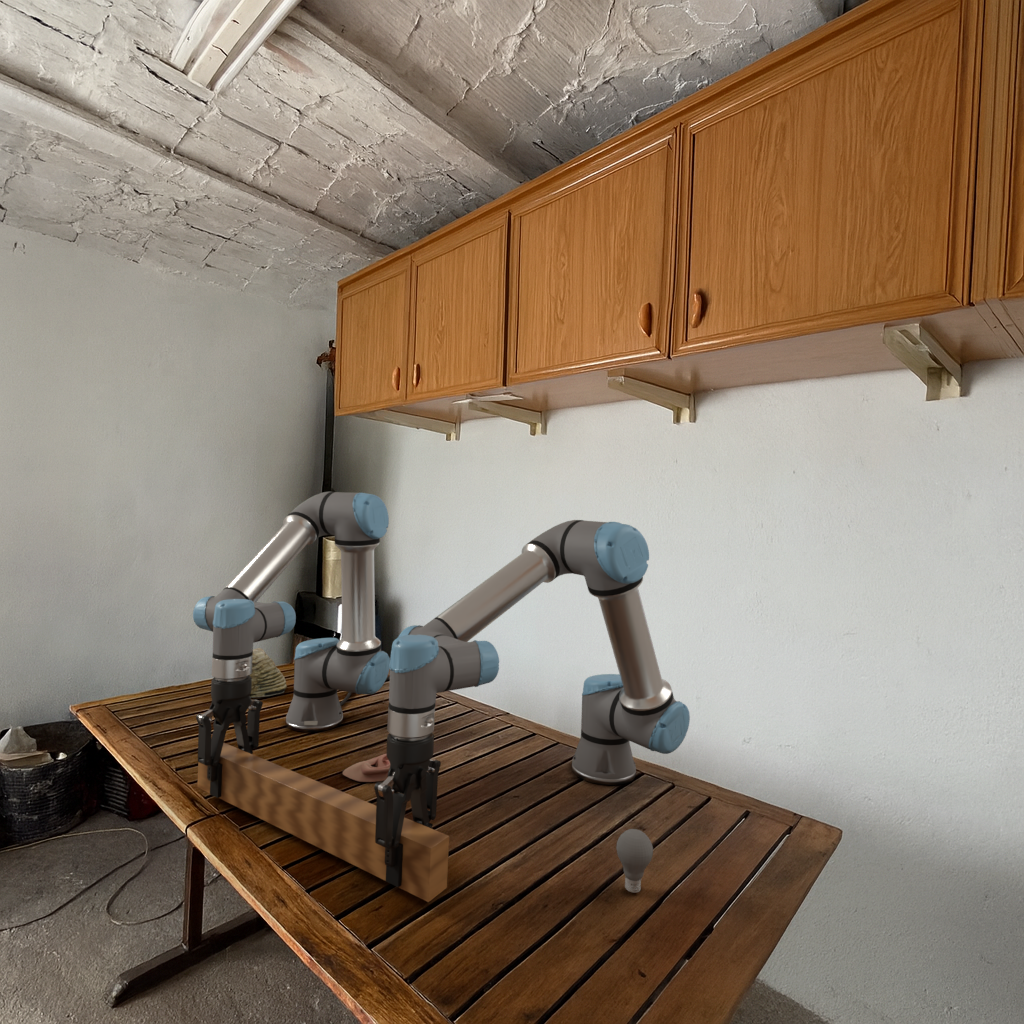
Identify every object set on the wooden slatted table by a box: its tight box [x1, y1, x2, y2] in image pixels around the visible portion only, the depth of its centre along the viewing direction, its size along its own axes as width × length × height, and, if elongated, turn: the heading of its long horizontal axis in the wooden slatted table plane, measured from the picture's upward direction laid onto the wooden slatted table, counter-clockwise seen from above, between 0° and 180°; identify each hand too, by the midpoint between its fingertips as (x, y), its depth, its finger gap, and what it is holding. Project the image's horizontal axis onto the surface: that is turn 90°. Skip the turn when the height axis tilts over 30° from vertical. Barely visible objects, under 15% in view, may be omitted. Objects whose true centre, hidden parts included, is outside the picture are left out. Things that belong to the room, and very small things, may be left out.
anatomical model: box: [342, 753, 390, 783], centre depth 146 cm, size 13×4×12 cm
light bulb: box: [615, 828, 654, 894], centre depth 106 cm, size 6×6×10 cm
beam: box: [196, 742, 450, 903], centre depth 116 cm, size 62×5×8 cm, turn 57°
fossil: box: [250, 647, 288, 699], centre depth 198 cm, size 9×18×15 cm, turn 132°
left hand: (227, 790), depth 129 cm, fingers closed on beam, 5 cm apart
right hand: (404, 874), depth 103 cm, fingers closed on beam, 5 cm apart
